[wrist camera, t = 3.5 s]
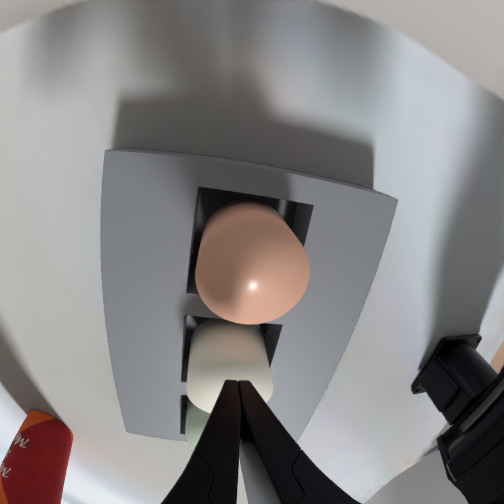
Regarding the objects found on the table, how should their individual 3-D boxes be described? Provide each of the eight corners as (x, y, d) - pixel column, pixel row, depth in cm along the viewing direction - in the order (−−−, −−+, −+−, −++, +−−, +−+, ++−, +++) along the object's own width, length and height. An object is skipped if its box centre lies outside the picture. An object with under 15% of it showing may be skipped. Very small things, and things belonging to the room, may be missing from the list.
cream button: (270, 319, 15) (282, 364, 12) (256, 371, 16) (263, 417, 13) (193, 311, 14) (188, 357, 11) (189, 366, 16) (185, 412, 13)
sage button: (249, 381, 18) (254, 422, 15) (240, 414, 19) (243, 452, 16) (189, 376, 17) (185, 417, 14) (187, 410, 19) (184, 448, 16)
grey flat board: (373, 189, 14) (398, 199, 12) (290, 420, 21) (296, 443, 19) (124, 148, 12) (105, 150, 10) (132, 408, 19) (126, 432, 17)
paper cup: (16, 391, 18) (-31, 497, 5) (82, 424, 20) (51, 545, 7) (26, 426, 21) (-5, 515, 8) (83, 453, 22) (62, 549, 9)
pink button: (297, 207, 13) (322, 230, 10) (278, 285, 14) (294, 328, 11) (207, 193, 12) (202, 213, 9) (197, 276, 14) (190, 318, 10)
